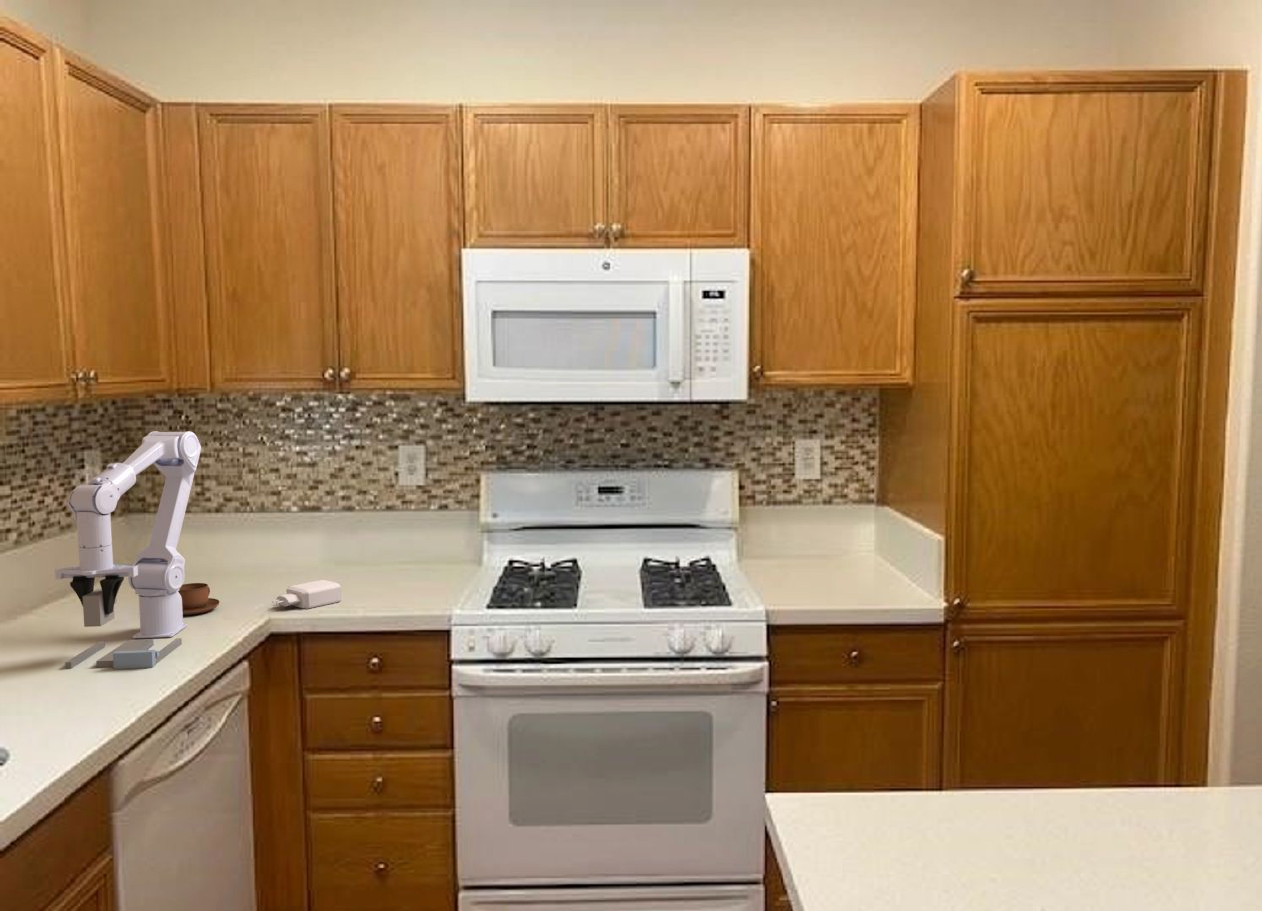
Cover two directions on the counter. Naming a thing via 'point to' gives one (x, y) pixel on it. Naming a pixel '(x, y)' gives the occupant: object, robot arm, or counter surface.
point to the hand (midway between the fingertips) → (99, 613)
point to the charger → (311, 594)
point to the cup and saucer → (196, 598)
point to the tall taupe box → (95, 609)
